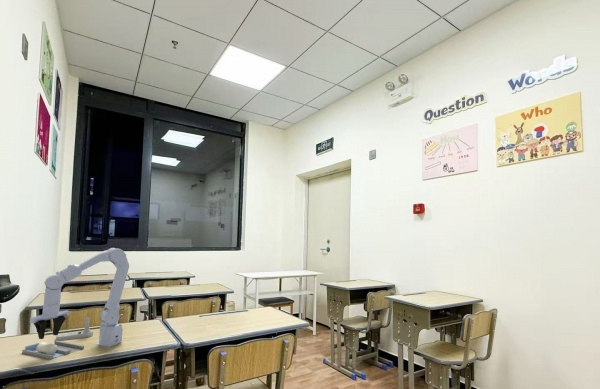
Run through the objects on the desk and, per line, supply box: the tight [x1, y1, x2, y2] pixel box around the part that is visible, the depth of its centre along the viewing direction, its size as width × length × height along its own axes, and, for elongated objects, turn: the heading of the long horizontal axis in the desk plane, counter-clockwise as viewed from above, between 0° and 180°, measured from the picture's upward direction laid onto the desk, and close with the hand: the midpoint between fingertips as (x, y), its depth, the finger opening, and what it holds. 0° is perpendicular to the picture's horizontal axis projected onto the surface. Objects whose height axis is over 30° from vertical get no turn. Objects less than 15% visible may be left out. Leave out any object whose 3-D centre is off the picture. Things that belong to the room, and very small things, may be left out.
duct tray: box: [21, 340, 85, 360], centre depth 142 cm, size 18×14×3 cm
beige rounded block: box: [36, 341, 57, 355], centre depth 139 cm, size 7×4×4 cm, turn 69°
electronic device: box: [55, 316, 94, 341], centre depth 162 cm, size 5×10×15 cm
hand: (48, 336), depth 139 cm, fingers open, 5 cm apart
